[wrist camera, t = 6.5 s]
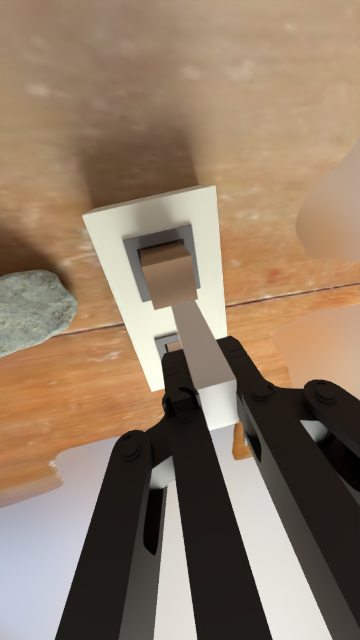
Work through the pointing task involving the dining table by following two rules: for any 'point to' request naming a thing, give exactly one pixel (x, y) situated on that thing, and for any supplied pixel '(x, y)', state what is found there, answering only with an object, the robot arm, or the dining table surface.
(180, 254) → the peg
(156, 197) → the socket block
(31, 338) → the decorative stone
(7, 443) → the dining table surface
